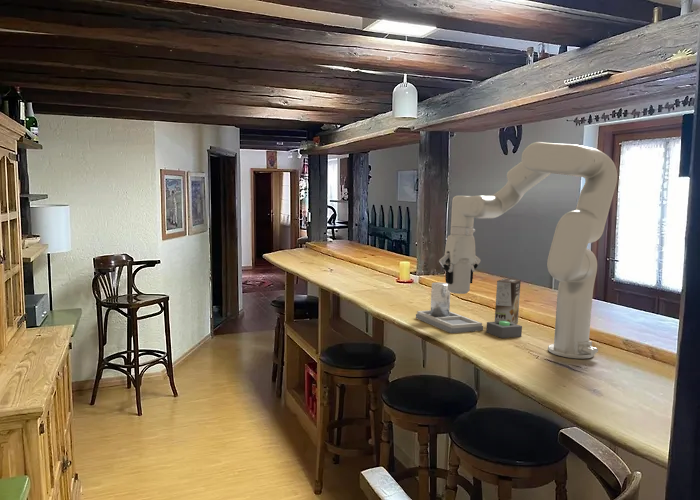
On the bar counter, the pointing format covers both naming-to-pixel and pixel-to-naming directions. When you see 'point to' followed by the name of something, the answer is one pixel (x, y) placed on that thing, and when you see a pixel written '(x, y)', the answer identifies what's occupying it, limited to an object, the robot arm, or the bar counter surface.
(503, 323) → the button
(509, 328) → the console
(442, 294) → the block
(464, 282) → the can
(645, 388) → the bar counter surface
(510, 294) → the coffee box
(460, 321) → the grey compartment tray
